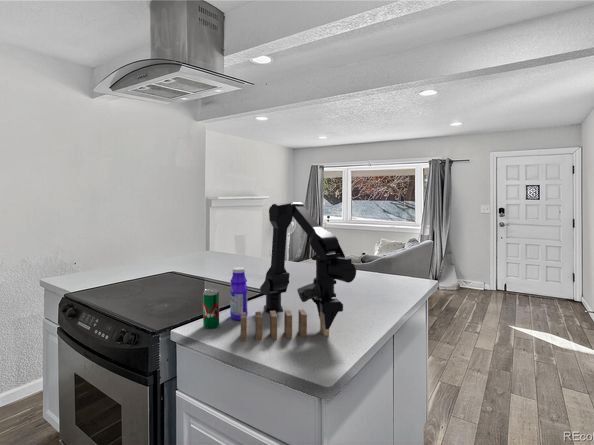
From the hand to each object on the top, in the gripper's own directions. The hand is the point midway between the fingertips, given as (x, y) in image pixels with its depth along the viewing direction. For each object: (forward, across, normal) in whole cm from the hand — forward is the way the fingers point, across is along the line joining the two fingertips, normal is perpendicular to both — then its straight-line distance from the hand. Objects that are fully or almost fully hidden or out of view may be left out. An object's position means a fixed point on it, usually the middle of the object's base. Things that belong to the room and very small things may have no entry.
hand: (324, 325), depth 110 cm
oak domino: (+2, 0, 0) cm, 2 cm away
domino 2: (+2, 0, -20) cm, 21 cm away
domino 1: (+2, 0, -25) cm, 25 cm away
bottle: (+2, -18, -26) cm, 32 cm away
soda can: (+2, -11, -35) cm, 37 cm away
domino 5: (+2, 0, -7) cm, 7 cm away
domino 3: (+2, 0, -16) cm, 16 cm away
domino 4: (+2, 0, -12) cm, 12 cm away
